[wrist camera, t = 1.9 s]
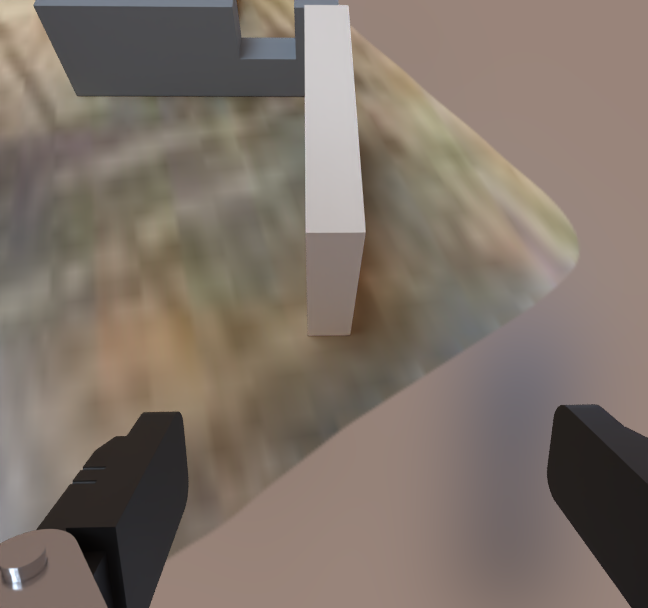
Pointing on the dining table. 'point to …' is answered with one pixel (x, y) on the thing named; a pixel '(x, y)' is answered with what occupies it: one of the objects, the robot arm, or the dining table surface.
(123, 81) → the grey slotted plate
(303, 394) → the dining table surface
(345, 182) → the white slotted plate
